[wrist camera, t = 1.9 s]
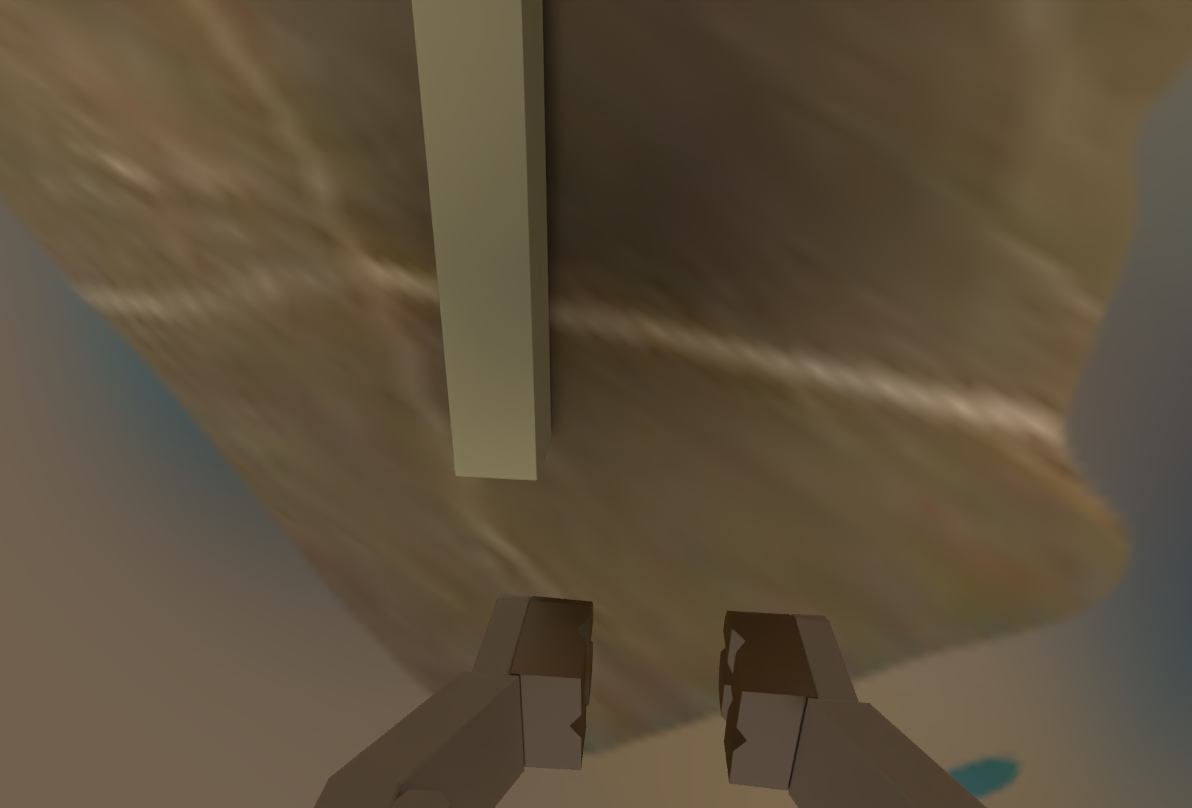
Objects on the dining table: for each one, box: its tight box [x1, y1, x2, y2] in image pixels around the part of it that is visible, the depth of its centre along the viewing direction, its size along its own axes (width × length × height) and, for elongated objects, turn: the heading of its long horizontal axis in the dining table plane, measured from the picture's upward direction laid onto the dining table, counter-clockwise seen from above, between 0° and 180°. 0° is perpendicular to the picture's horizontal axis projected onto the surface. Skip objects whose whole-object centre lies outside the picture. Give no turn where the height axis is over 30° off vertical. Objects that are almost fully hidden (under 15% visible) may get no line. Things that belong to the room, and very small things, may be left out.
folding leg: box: [412, 0, 551, 480], centre depth 23 cm, size 23×4×5 cm, turn 179°
